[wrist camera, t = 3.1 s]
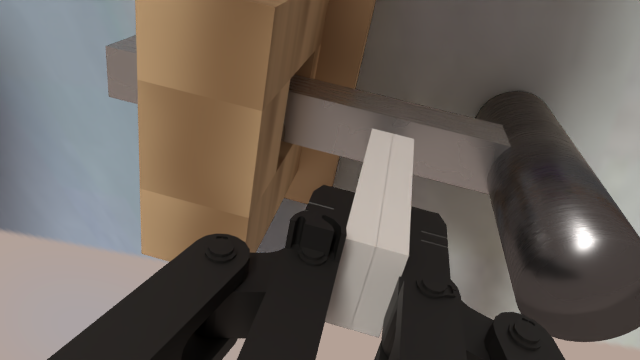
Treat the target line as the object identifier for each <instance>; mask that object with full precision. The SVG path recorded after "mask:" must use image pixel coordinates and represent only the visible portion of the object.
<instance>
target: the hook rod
mask: <svg viewBox="0 0 640 360" xmlns="http://www.w3.org/2000/svg"><path fill="white" fill-rule="evenodd" d="M106 59H107V75H108V92H109V97H112V98H116V99H120V100H124V101H128V102H132V103H136V104H138V86H137V46H136V35H134V36H132V37H129V38H126V39H124V40H121V41H118V42H116V43H113V44H110V45H107V46H106ZM372 128H373V129H377V130H381V131H385V132H389V133H393V134H397V135H401V136H405V137H408V138H412V139H414V154H413V175H416V176H420V177H424V178H428V179H432V180H435V181H439V182H443V183H447V184H451V185H455V186H459V187H463V188H467V189H470V190H474V191H478V192H482V193H486V194H489V195H490V199H491V203H492V207H493V211H494V215H495V219H496V223H497V227H498V231H499V235H500V239H501V243H502V247H503V251H504V255H505V259H506V263H507V267H508V271H509V275H510V279H511V283H512V287H513V291H514V295H515V298H516V302H517V306H518V308H519V310H520V312H521V314H522V315H525V316H527V317H529V318H531V319H533V320H535V321H536V322H537V323H539V324H540V325H541V326H542V327H543V328H545V329H546V330H547V332H548V333H549V334H550V335H551V336H552V337H555V338H558V339H563V340H567V341H575V342H594V341H602V340H607V339H612V338H615V337H619V336H622V335H624V334H626V333H629V332H631V331H633V330H635V329H637V328H638V327H640V237H639V236H638V234H637V233H636V231H635V230H634V229H633V227H632V226H631V224H630V223H629V222H628V220H627V219H626V217H625V216H624V214H623V213H622V212H621V210H620V209H619V207H618V206H617V204H616V203H615V202H614V200H613V199H612V197H611V196H610V195H609V193H608V192H607V190H606V189H605V187H604V186H603V185H602V183H601V182H600V180H599V179H598V177H597V176H596V175H595V173H594V172H593V170H592V169H591V168H590V166H589V165H588V163H587V162H586V160H585V159H584V158H583V156H582V155H581V153H580V152H579V151H578V149H577V148H576V146H575V145H574V143H573V142H572V141H571V139H570V138H569V136H568V135H567V133H566V132H565V131H564V129H563V128H562V126H561V125H560V124H559V122H558V121H557V119H556V118H555V116H554V115H553V114H552V112H551V111H550V109H549V108H548V106H547V105H546V104H545V103H544V102H543V101H542V100H541V99H540V98H539V97H537V96H535V95H533V94H530V93H527V92H521V91H513V92H507V93H503V94H500V95H498V96H496V97H494V98H492V99H491V100H490V101H488V102H487V103H486V104H485V105H484V106H483V107H482V108H481V109H480V111H479V113H478V114H477V116H476V118H472V117H468V116H463V115H459V114H455V113H451V112H447V111H443V110H439V109H435V108H431V107H427V106H423V105H418V104H414V103H410V102H406V101H402V100H398V99H394V98H390V97H386V96H382V95H377V94H373V93H369V92H365V91H361V90H357V89H353V88H349V87H345V86H341V85H337V84H332V83H328V82H324V81H320V80H316V79H312V78H308V77H304V76H300V75H296V74H294V75H293V77H292V78H291V79H290V85H289V92H288V98H287V105H286V111H285V118H284V124H283V131H282V137H281V141H284V142H287V143H291V144H295V145H299V146H303V147H307V148H311V149H315V150H319V151H323V152H326V153H330V154H334V155H338V156H342V157H346V158H350V159H354V160H358V161H361V162H363V161H364V157H365V154H366V150H367V146H368V142H369V138H370V135H371V131H372Z"/></svg>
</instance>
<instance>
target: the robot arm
mask: <svg viewBox="0 0 640 360" xmlns="http://www.w3.org/2000/svg"><path fill="white" fill-rule="evenodd" d="M413 154H414V139H412V138H408V137H405V136H401V135H397V134H393V133H389V132H385V131H381V130H377V129H373V128H372V131H371V135H370V138H369V142H368V146H367V150H366V154H365V157H364V161H363V165H362V169H361V172H360V176H359V180H358V184H357V188H356V191H355V193H353V192H350V191H346V190H342V189H338V188H334V187H331V186H327V185H322V186H321V187H319V188H317V189H316V190H314V191H313V193H312V195H311V198H310V200H309V203H308V205H307V207H306V210H305V211H302V212H299V213H297V214H295V215H294V216H293V217H292V218H291V219H290V224H289V229H288V235H287V240H286V246H285V248H284V249H282V250H279V251H276V252H271V253H252V252H250V249H249V247H248V246H247V244H246V243H245V242H244V241H242V240H241V239H239V238H238V237H235V236H232V235H229V234H217V233H216V234H211V235H206V236H204V237H202V238H200V239H198V240H197V241H195V242H194V243H193V244H192V245H190V246H189V247H188V248H186V249H185V250H184V251H183V252H181V253H180V254H179V255H178V256H176V257H175V258H174V259H173V260H171V261H170V262H169V263H168V264H166V265H165V266H164V267H163V268H161V269H160V270H159V271H158V272H156V273H155V274H154V275H153V276H151V277H150V278H149V279H148V280H146V281H145V282H144V283H143V284H141V285H140V286H139V287H138V288H136V289H135V290H134V291H133V292H131V293H130V294H129V295H128V296H126V297H125V298H124V299H123V300H121V301H120V302H119V303H118V304H116V305H115V306H114V307H113V308H111V309H110V310H109V311H107V312H106V313H105V314H104V315H103V316H101V317H100V318H99V319H97V320H96V321H95V322H94V323H92V324H91V325H90V326H89V327H87V328H86V329H85V330H84V331H82V332H81V333H80V334H79V335H77V336H76V337H75V338H74V339H72V340H71V341H70V342H69V343H68V344H66V345H65V346H64V347H62V348H61V349H60V350H59V351H57V352H56V353H55V354H54V355H52V356H51V357H50V358H48V359H47V360H222V359H223V357H224V356H225V355H226V354H227V353H228V352H229V350H230V349H231V348H232V347H233V346H234V344H235V343H236V341H237V339H238V338H246V340H245V342H244V345H243V347H242V349H241V351H240V354H239V356H238V358H237V360H315V359H316V355H317V351H318V347H319V343H320V339H321V335H322V331H323V327H324V323H325V322H327V323H330V324H334V325H337V326H340V327H344V328H347V329H351V330H354V331H358V332H361V333H365V334H368V335H372V336H375V337H379V336H380V333H381V330H382V327H383V331H382V341H381V343H380V346H379V349H378V351H377V354H376V357H375V359H374V360H565V358H564V357H563V355H562V353H561V352H560V350H559V348H558V346H557V345H556V343H555V341H554V339H553V338H552V337H551V335H550V334H549V333H548V332H547V330H546V329H545V328H543V327H542V326H541V325H540V324H539V323H537V322H536V321H535V320H533V319H531V318H529V317H527V316H525V315H522V314H518V313H514V312H504V313H501V314H499V315H498V316H496V317H495V319H494V320H492V319H490V318H488V317H486V316H484V315H482V314H480V313H478V312H477V311H475V310H473V309H472V308H470V307H468V306H467V305H466V304H465V303H464V302H462V301H461V295H460V293H459V290H458V288H457V286H456V285H455V284H454V283H453V282H452V280H451V279H450V266H449V253H448V248H447V247H448V240H447V227H446V224H445V223H444V221H443V220H442V218H441V217H440V215H439V214H437V213H434V212H430V211H426V210H422V209H419V208H415V207H411V198H412V176H413Z"/></svg>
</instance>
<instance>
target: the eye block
mask: <svg viewBox="0 0 640 360" xmlns="http://www.w3.org/2000/svg"><path fill="white" fill-rule="evenodd" d="M375 2H376V0H135V6H136V46H137V86H138V126H139V166H140V206H141V246H142V254H145V255H148V256H152V257H155V258H159V259H162V260H166V261H169V262H170V261H171V260H173V259H174V258H175V257H176V256H178V255H179V254H180V253H181V252H183V251H184V250H185V249H186V248H188V247H189V246H190V245H192V244H193V243H194V242H195V241H197V240H198V239H200V238H202V237H204V236H206V235H211V234H216V233H217V234H229V235H232V236H235V237H238V238H239V239H241V240H242V241H244V242H245V243H246V244H247V246H248V247H249V249H250V252H252V253H256V251H257V249H258V247H259V245H260V243H261V241H262V239H263V237H264V235H265V234H266V232H267V230H268V228H269V226H270V224H271V222H272V220H273V218H274V216H275V214H276V212H277V210H278V208H279V206H280V204H281V202H282V200H283V199H284V198H286V199H290V200H294V201H298V202H301V203H305V204H308V203H309V200H310V198H311V195H312V193H313V191H314V190H316V189H317V188H319V187H321V186H322V185H327V186H331V187H333V183H334V179H335V174H336V170H337V166H338V161H339V157H340V156H338V155H334V154H330V153H326V152H323V151H319V150H315V149H311V148H307V147H303V146H299V145H295V144H291V143H287V142H284V141H281V137H282V131H283V124H284V118H285V111H286V105H287V98H288V92H289V85H290V79H291V78H292V77H293V75H294V74H296V75H300V76H304V77H308V78H312V79H316V80H320V81H324V82H328V83H332V84H337V85H341V86H345V87H349V88H353V89H355V88H356V84H357V80H358V75H359V71H360V67H361V63H362V58H363V54H364V50H365V45H366V41H367V37H368V32H369V28H370V24H371V19H372V15H373V11H374V7H375Z"/></svg>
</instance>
